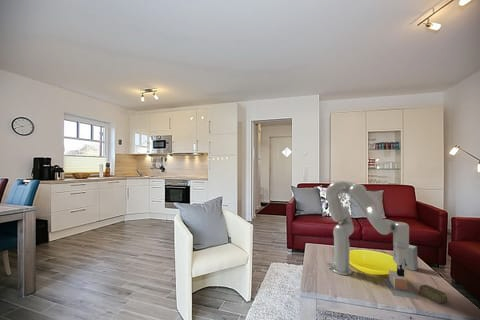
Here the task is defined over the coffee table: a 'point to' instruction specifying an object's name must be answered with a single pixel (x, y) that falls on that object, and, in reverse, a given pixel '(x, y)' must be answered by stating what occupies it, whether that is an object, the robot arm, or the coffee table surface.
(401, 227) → the robot arm
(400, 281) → the cream rectangular block
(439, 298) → the stone block
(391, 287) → the rubber mat
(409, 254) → the skincare box
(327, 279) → the coffee table surface
